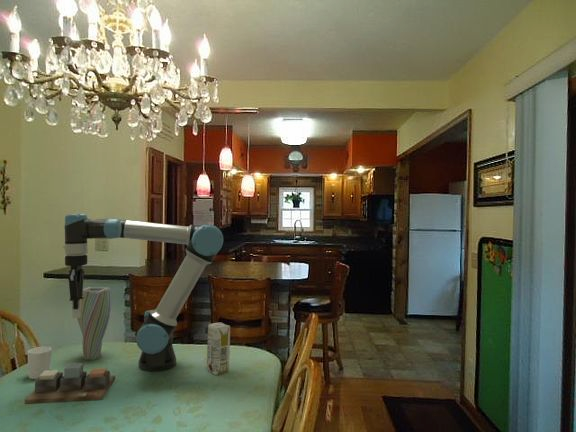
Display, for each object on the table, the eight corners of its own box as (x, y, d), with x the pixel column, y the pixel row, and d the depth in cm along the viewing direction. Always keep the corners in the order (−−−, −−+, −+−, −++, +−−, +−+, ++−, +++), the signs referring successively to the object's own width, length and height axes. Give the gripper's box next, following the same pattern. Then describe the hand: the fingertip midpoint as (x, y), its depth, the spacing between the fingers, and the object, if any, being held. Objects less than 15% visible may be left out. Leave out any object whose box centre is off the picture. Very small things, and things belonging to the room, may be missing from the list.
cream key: (58, 384, 145) (59, 370, 145) (53, 389, 140) (54, 375, 140) (44, 384, 144) (44, 370, 144) (38, 390, 139) (39, 375, 139)
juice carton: (215, 376, 159) (216, 328, 159) (204, 370, 166) (205, 323, 166) (231, 372, 164) (232, 325, 164) (220, 366, 171) (221, 321, 171)
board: (115, 378, 155) (115, 364, 155) (102, 399, 137) (103, 384, 137) (46, 381, 150) (47, 367, 150) (24, 403, 133) (25, 387, 133)
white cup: (39, 380, 151) (40, 354, 151) (21, 378, 152) (22, 352, 152) (55, 373, 158) (56, 347, 158) (38, 371, 160) (39, 345, 160)
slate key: (83, 376, 146) (83, 363, 146) (78, 382, 142) (79, 368, 142) (68, 377, 146) (69, 363, 146) (63, 382, 141) (64, 368, 141)
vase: (100, 363, 170) (102, 292, 170) (68, 362, 170) (70, 291, 170) (114, 352, 183) (116, 286, 183) (84, 351, 183) (86, 286, 184)
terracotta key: (106, 381, 148) (106, 368, 148) (102, 387, 143) (103, 373, 143) (92, 382, 147) (92, 368, 147) (88, 388, 142) (88, 373, 142)
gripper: (70, 253, 157) (70, 313, 157) (59, 256, 145) (60, 322, 145) (91, 252, 159) (91, 312, 159) (82, 256, 147) (83, 320, 147)
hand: (76, 317), depth 152 cm, fingers closed
